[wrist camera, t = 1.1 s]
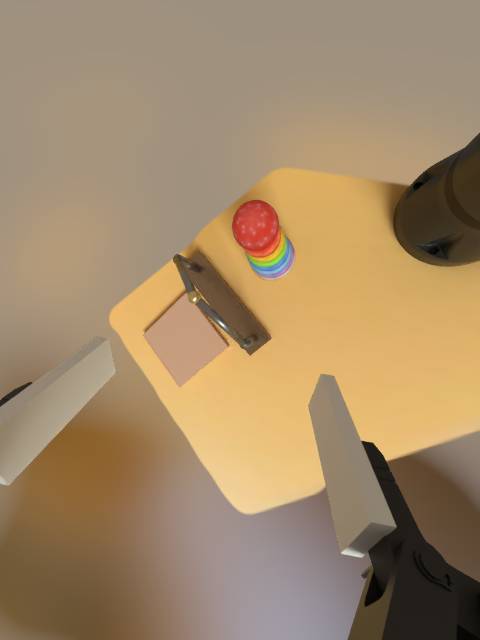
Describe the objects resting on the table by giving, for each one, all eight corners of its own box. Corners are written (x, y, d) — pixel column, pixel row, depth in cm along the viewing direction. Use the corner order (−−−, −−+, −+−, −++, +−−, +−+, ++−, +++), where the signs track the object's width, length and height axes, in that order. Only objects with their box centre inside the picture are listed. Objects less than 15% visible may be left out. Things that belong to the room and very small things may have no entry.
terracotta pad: (188, 293, 43) (185, 292, 42) (229, 346, 41) (227, 346, 40) (145, 334, 46) (142, 335, 45) (182, 386, 44) (179, 387, 43)
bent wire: (271, 338, 39) (257, 350, 25) (251, 354, 40) (228, 374, 26) (202, 253, 42) (157, 225, 29) (185, 270, 43) (134, 250, 30)
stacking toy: (244, 253, 40) (200, 202, 22) (282, 229, 38) (268, 151, 20) (263, 289, 39) (234, 267, 21) (303, 267, 37) (308, 221, 19)
